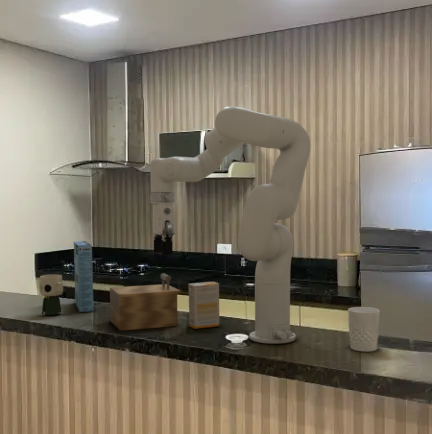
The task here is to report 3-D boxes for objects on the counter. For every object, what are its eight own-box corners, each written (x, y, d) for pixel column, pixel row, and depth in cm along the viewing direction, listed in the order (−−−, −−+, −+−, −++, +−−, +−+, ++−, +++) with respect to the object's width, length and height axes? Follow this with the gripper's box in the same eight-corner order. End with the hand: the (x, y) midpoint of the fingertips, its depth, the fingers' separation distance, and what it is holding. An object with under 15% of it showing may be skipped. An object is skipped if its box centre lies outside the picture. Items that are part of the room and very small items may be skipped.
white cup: (346, 344, 157) (346, 306, 157) (376, 345, 156) (377, 307, 156) (349, 352, 149) (350, 312, 149) (382, 352, 149) (382, 312, 148)
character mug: (32, 314, 199) (31, 275, 199) (49, 311, 205) (48, 273, 205) (54, 318, 193) (53, 278, 193) (71, 314, 199) (70, 275, 198)
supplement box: (213, 323, 184) (212, 281, 183) (219, 326, 180) (219, 283, 179) (188, 326, 180) (188, 283, 180) (194, 329, 176) (194, 285, 176)
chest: (164, 317, 195) (164, 287, 194) (177, 325, 181) (177, 293, 181) (110, 321, 188) (109, 290, 188) (119, 330, 175) (119, 297, 174)
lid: (167, 286, 195) (166, 271, 194) (180, 293, 181) (180, 276, 181) (109, 290, 188) (109, 274, 188) (119, 297, 174) (119, 280, 174)
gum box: (93, 311, 204) (92, 244, 203) (78, 312, 203) (77, 245, 202) (88, 302, 223) (87, 240, 222) (74, 303, 221) (73, 241, 220)
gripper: (182, 198, 179) (182, 255, 180) (166, 198, 195) (166, 250, 196) (158, 198, 176) (158, 256, 177) (144, 198, 192) (144, 251, 193)
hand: (162, 253), depth 186 cm, fingers open, 9 cm apart
